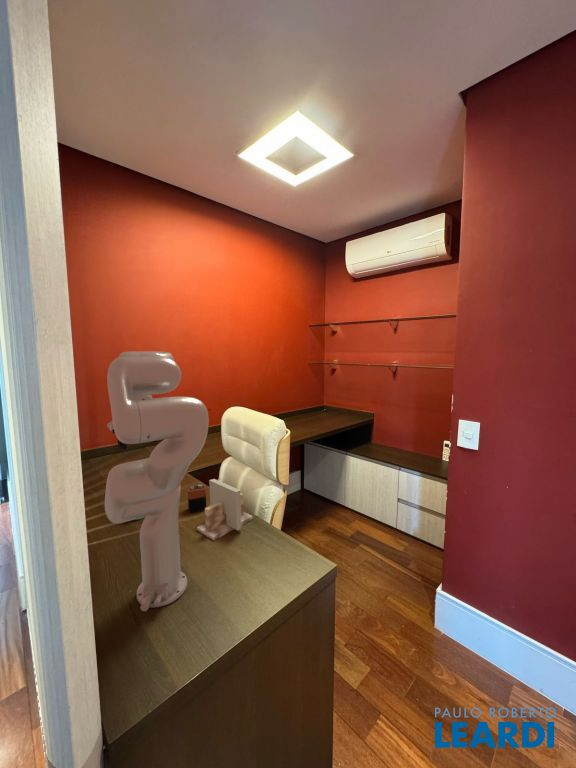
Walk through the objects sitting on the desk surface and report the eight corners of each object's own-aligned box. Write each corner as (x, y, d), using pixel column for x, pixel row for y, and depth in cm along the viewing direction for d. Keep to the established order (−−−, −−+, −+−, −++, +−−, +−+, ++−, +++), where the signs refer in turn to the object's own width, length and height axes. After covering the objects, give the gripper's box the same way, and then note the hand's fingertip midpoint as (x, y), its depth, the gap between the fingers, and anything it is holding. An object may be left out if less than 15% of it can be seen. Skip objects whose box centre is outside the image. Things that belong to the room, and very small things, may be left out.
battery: (206, 509, 126) (205, 486, 125) (189, 513, 124) (188, 489, 123) (205, 505, 130) (204, 482, 129) (188, 508, 128) (187, 485, 127)
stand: (213, 540, 105) (212, 514, 104) (196, 530, 111) (195, 505, 111) (252, 519, 119) (252, 495, 118) (235, 510, 125) (235, 488, 124)
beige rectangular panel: (237, 530, 109) (235, 492, 107) (210, 515, 119) (209, 480, 118) (241, 528, 110) (240, 490, 109) (215, 513, 121) (213, 478, 120)
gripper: (110, 395, 88) (114, 454, 90) (167, 390, 102) (170, 441, 103) (100, 394, 93) (104, 449, 95) (156, 388, 106) (159, 437, 108)
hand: (138, 445), depth 99 cm, fingers open, 9 cm apart
